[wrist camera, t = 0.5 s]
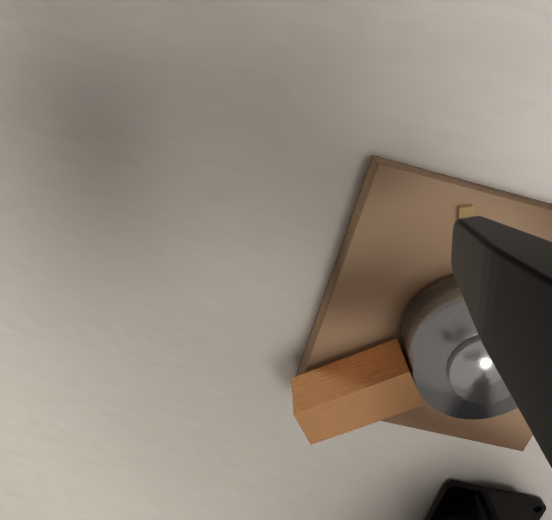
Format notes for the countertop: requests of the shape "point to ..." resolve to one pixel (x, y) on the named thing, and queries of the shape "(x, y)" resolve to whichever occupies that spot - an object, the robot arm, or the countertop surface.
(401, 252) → the base plate
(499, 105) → the countertop surface
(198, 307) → the countertop surface
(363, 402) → the metal and wood piece
